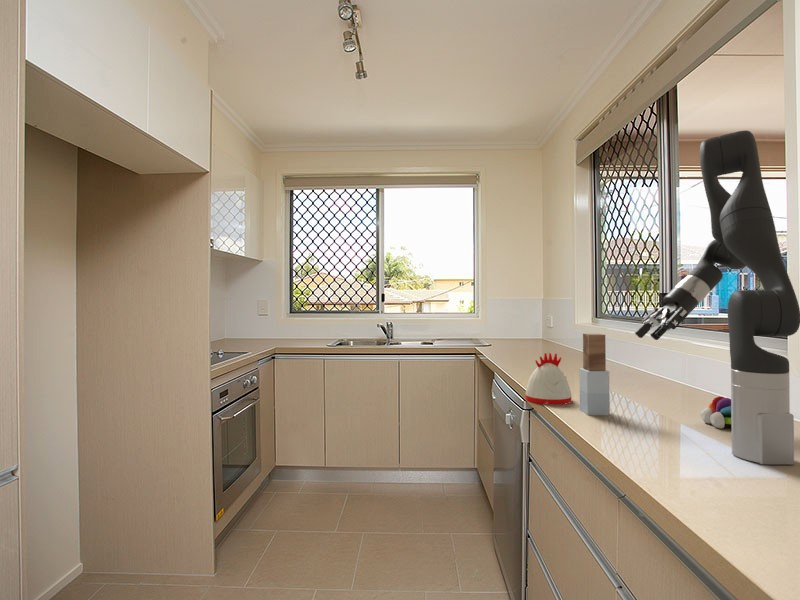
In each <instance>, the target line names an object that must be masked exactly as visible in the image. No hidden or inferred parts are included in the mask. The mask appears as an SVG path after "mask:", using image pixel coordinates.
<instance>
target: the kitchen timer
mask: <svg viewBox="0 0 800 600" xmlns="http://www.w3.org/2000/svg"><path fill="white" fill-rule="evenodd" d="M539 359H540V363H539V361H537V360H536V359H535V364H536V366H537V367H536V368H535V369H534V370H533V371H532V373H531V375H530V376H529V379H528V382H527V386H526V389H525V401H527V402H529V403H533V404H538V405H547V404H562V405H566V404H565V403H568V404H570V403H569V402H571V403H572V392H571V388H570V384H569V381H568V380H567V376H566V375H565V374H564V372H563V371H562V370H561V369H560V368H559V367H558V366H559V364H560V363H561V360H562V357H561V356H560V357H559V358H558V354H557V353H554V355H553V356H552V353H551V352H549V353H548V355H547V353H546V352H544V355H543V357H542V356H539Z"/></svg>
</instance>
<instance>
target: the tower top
mask: <svg viewBox="0 0 800 600" xmlns="http://www.w3.org/2000/svg"><path fill="white" fill-rule="evenodd" d="M578 372H579V391H580V390H582V391H584V392H586V393H610V371H608V370H606V371H588V370H585V369H583V367H581V368H580V367H579V371H578Z"/></svg>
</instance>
